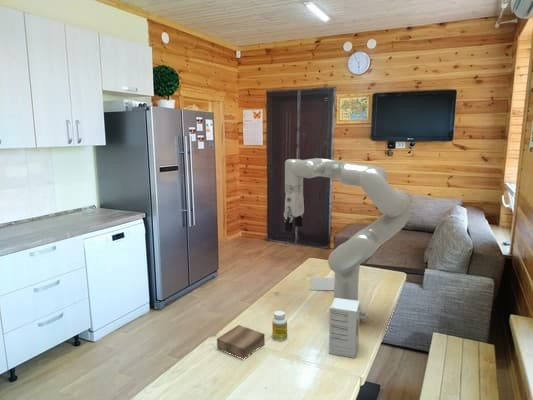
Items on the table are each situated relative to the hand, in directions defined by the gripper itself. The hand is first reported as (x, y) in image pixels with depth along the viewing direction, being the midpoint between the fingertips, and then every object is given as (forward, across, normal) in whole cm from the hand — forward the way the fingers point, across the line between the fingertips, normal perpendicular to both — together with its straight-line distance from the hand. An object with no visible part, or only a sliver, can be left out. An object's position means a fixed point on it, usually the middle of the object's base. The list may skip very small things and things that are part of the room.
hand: (293, 228), depth 163 cm
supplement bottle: (+35, -26, -6) cm, 44 cm away
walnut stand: (+35, -38, +3) cm, 52 cm away
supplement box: (+35, -23, -30) cm, 51 cm away
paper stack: (+36, +29, -9) cm, 47 cm away
